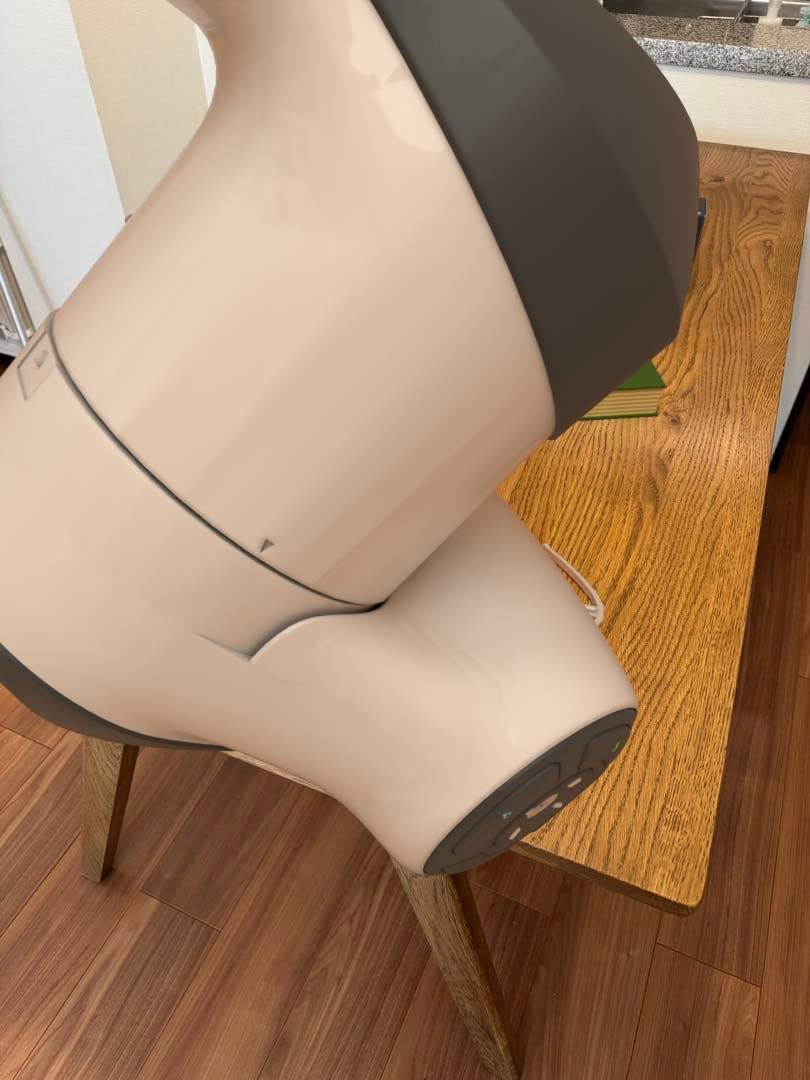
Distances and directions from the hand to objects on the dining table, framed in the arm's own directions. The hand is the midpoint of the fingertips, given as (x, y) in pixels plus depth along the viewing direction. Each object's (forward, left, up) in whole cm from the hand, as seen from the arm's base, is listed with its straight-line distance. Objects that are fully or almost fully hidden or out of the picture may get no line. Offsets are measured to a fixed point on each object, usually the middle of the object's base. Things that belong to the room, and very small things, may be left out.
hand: (213, 300), depth 39 cm
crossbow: (+17, -8, -30) cm, 35 cm away
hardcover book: (+44, +13, -30) cm, 55 cm away
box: (+72, +16, -30) cm, 80 cm away
